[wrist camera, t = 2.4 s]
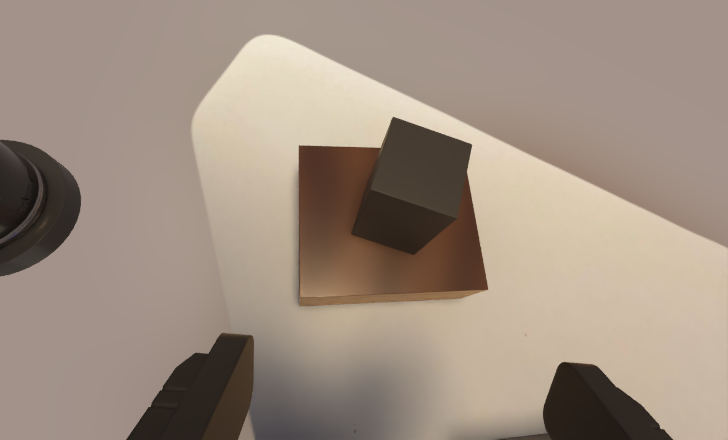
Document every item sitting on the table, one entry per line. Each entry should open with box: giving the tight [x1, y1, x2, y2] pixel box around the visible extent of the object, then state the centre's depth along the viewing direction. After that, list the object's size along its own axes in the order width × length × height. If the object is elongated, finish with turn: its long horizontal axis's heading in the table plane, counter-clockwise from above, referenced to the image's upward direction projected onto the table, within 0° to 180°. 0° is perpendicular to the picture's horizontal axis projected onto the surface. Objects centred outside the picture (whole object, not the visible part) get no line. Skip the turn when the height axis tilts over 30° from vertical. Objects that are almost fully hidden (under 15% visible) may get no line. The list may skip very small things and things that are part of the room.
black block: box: [351, 117, 472, 255], centre depth 23 cm, size 5×5×8 cm
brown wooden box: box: [299, 146, 488, 306], centre depth 29 cm, size 14×12×5 cm
